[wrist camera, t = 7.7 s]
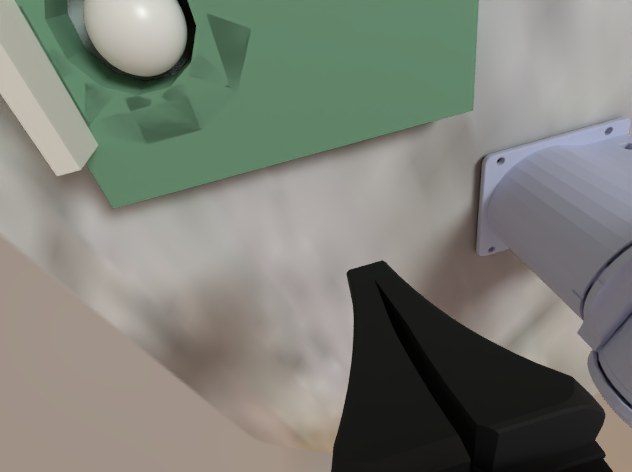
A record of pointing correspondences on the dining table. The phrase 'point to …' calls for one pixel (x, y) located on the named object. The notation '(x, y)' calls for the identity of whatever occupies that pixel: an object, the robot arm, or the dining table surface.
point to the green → (236, 87)
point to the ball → (137, 33)
